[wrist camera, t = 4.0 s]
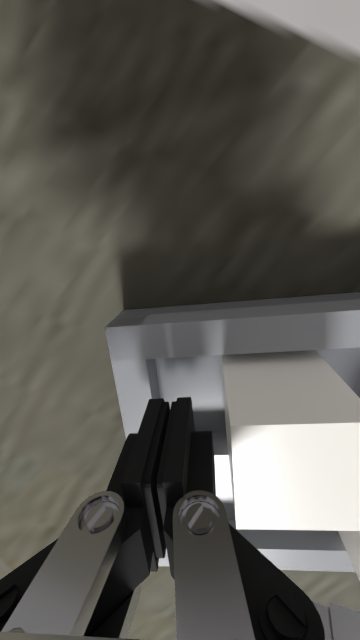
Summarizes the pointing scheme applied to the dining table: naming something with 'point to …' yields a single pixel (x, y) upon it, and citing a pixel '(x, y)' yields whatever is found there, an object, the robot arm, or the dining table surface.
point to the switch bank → (207, 383)
